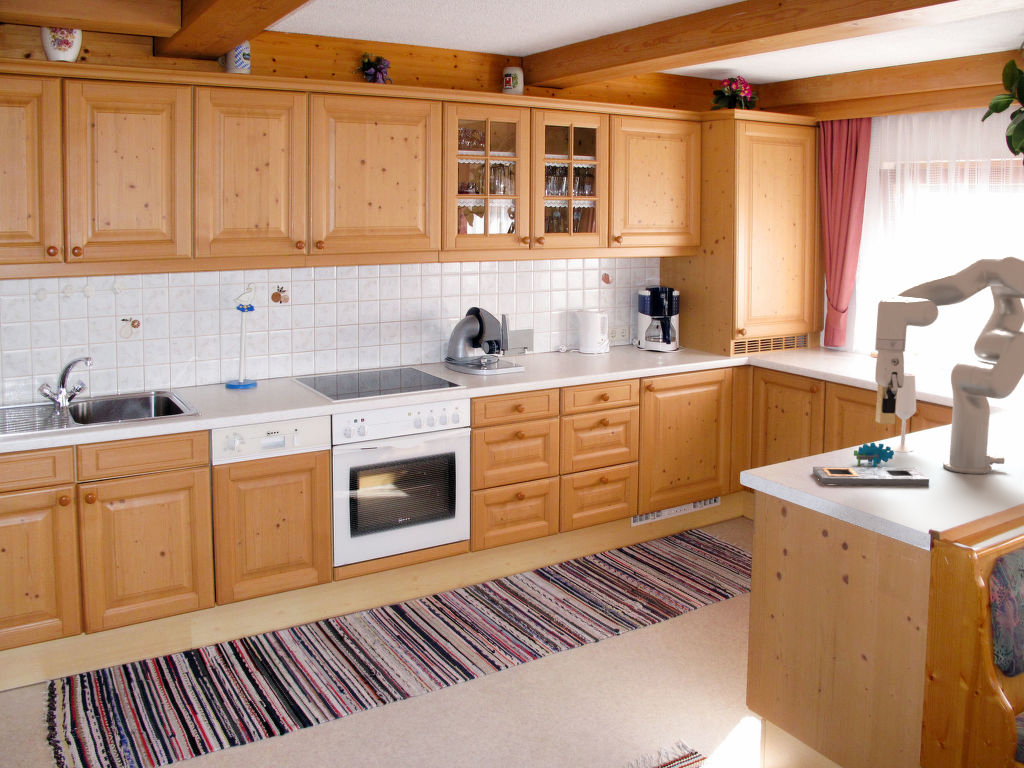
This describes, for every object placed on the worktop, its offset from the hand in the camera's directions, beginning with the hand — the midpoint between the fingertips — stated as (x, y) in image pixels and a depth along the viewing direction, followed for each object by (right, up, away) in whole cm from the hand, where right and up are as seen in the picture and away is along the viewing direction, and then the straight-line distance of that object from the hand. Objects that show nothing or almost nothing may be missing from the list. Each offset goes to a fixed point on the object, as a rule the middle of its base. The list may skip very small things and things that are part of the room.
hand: (885, 410), depth 254 cm
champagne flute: (+20, -14, +37) cm, 44 cm away
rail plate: (-3, -19, +4) cm, 20 cm away
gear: (+4, -17, +19) cm, 26 cm away
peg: (0, -3, +1) cm, 3 cm away
